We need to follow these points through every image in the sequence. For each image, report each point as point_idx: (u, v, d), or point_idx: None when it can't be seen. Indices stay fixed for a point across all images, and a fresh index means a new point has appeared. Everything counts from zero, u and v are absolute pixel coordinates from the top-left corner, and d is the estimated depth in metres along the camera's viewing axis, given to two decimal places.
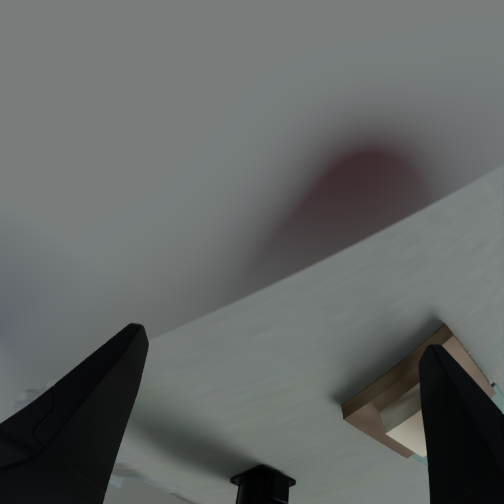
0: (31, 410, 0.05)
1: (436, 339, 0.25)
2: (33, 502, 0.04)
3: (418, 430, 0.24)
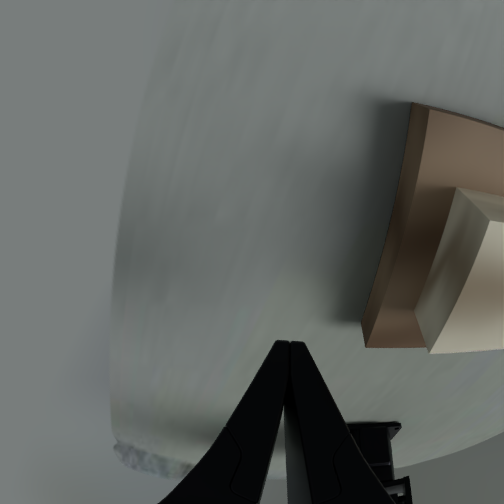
0: (212, 463, 0.05)
1: (414, 138, 0.12)
2: None
3: (491, 320, 0.11)
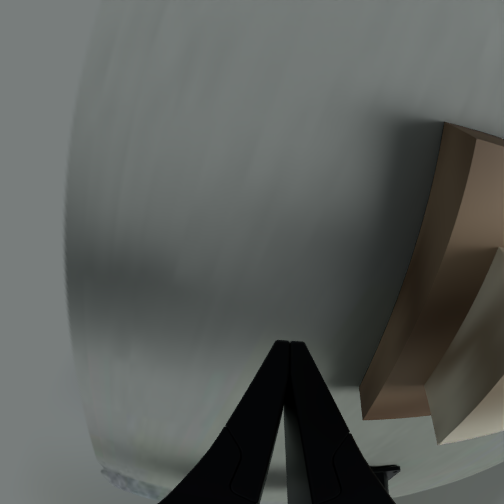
0: (212, 463, 0.05)
1: (447, 176, 0.08)
2: None
3: None
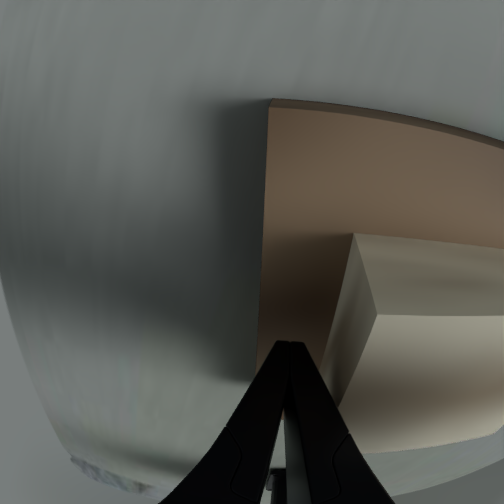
0: (213, 463, 0.05)
1: None
2: None
3: (409, 426, 0.08)
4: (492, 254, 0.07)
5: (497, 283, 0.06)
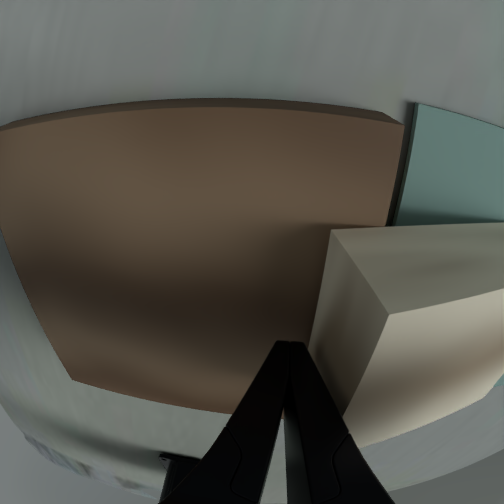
0: (213, 463, 0.05)
1: None
2: None
3: (410, 410, 0.08)
4: (465, 230, 0.08)
5: (480, 259, 0.07)
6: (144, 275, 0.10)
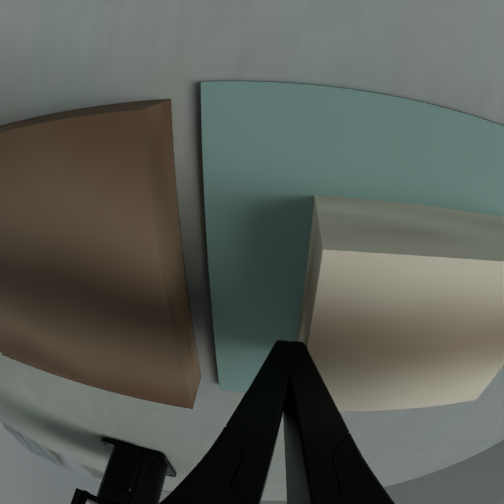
0: (213, 463, 0.05)
1: None
2: None
3: (380, 379, 0.09)
4: (449, 213, 0.09)
5: (448, 234, 0.08)
6: (13, 259, 0.10)
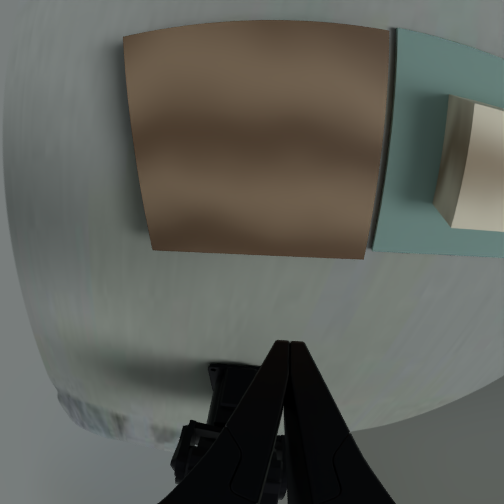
0: (212, 463, 0.05)
1: None
2: None
3: (496, 196, 0.14)
4: None
5: None
6: (247, 118, 0.15)
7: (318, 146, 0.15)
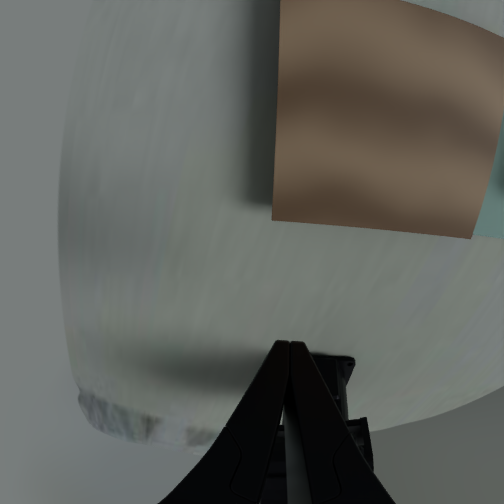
0: (212, 463, 0.05)
1: None
2: None
3: None
4: None
5: None
6: (401, 91, 0.13)
7: (455, 128, 0.14)
